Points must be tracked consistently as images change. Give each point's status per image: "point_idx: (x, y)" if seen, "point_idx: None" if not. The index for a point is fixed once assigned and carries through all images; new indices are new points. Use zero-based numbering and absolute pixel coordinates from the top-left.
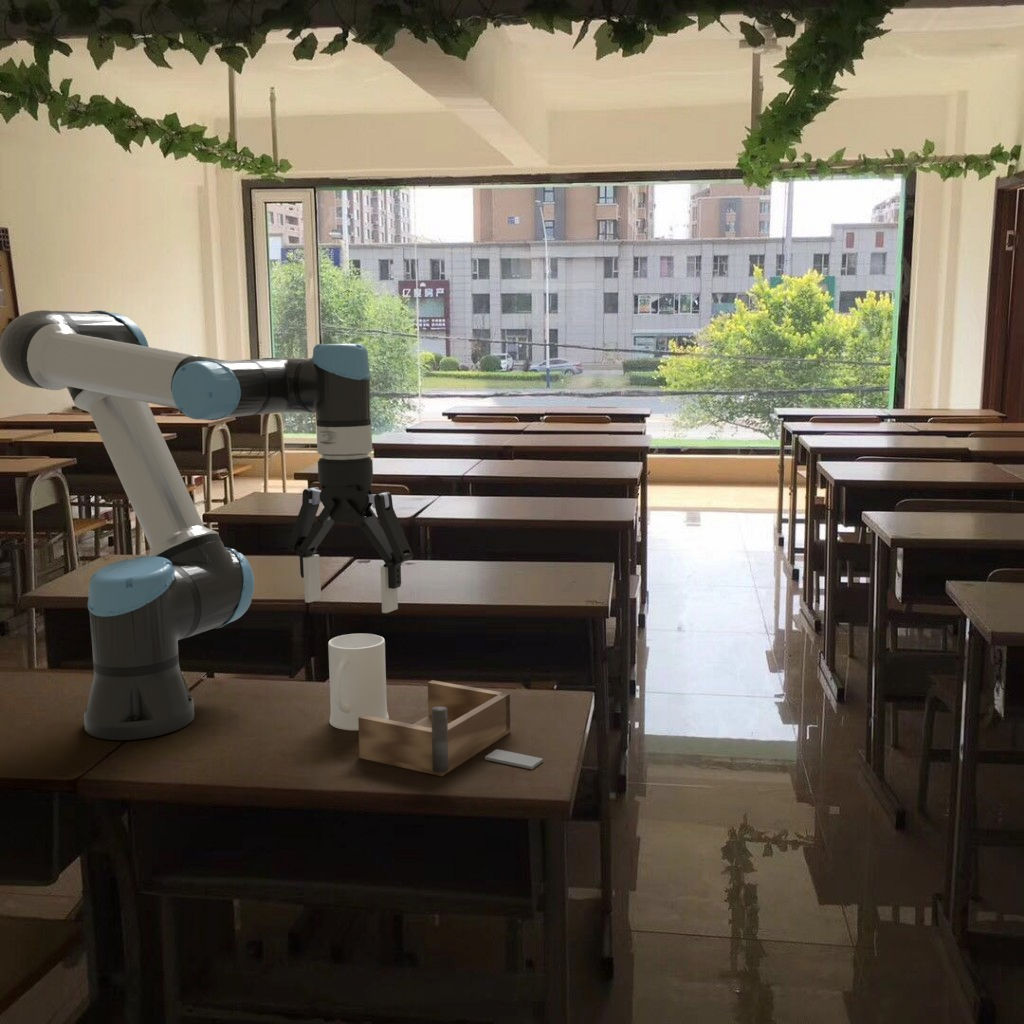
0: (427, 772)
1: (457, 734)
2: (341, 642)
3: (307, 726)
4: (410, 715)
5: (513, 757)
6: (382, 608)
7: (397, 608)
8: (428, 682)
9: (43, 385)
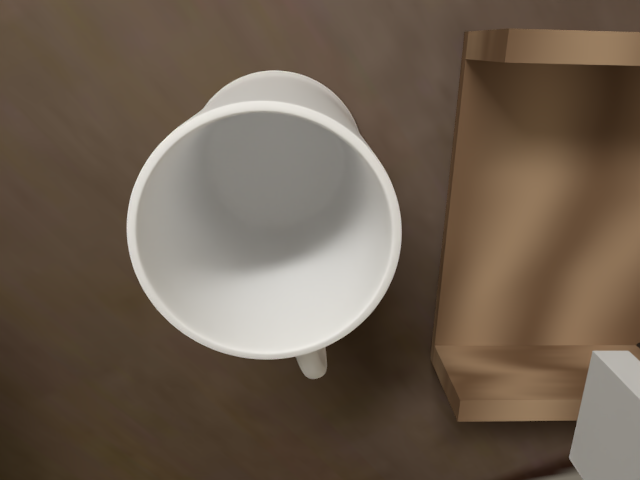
0: None
1: None
2: (150, 201)
3: None
4: (391, 50)
5: None
6: (586, 476)
7: (628, 355)
8: (507, 61)
9: None
